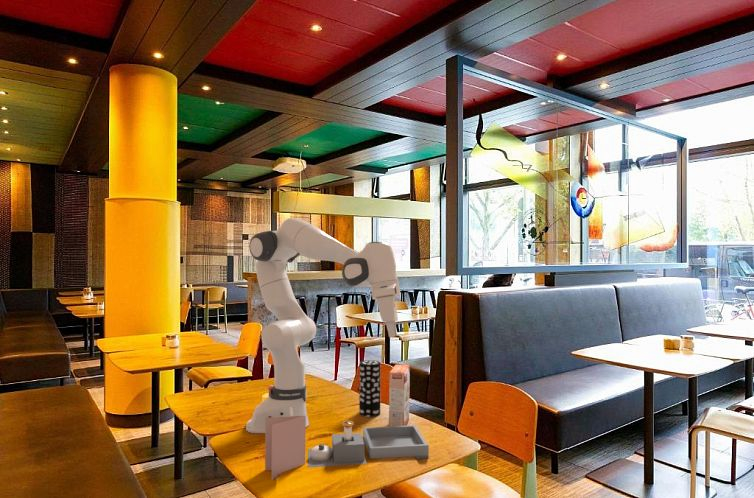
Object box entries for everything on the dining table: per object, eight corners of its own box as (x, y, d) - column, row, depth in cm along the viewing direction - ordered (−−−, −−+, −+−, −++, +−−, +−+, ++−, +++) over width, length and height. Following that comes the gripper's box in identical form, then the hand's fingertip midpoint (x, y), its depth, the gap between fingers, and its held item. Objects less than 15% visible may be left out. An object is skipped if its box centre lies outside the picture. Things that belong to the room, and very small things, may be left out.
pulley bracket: (308, 470, 138) (308, 449, 138) (307, 452, 151) (308, 433, 151) (366, 467, 140) (366, 446, 141) (361, 449, 153) (361, 430, 153)
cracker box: (405, 432, 169) (405, 372, 169) (388, 431, 170) (388, 372, 170) (410, 419, 182) (410, 364, 183) (394, 418, 184) (394, 363, 184)
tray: (370, 461, 144) (370, 448, 144) (363, 439, 162) (363, 427, 162) (428, 458, 147) (428, 445, 147) (415, 436, 165) (415, 425, 165)
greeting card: (305, 466, 141) (305, 414, 141) (305, 477, 134) (306, 423, 134) (265, 468, 139) (265, 416, 139) (263, 480, 132) (264, 425, 132)
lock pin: (342, 458, 144) (342, 424, 144) (341, 453, 148) (341, 420, 148) (354, 457, 145) (354, 424, 145) (353, 453, 148) (353, 420, 148)
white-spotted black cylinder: (361, 409, 194) (361, 360, 195) (381, 410, 193) (381, 360, 194) (357, 416, 186) (357, 364, 186) (378, 417, 185) (379, 365, 185)
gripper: (378, 295, 159) (385, 337, 157) (372, 291, 139) (380, 339, 137) (397, 292, 159) (404, 334, 157) (393, 287, 139) (401, 335, 137)
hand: (393, 336), depth 147 cm, fingers open, 8 cm apart
